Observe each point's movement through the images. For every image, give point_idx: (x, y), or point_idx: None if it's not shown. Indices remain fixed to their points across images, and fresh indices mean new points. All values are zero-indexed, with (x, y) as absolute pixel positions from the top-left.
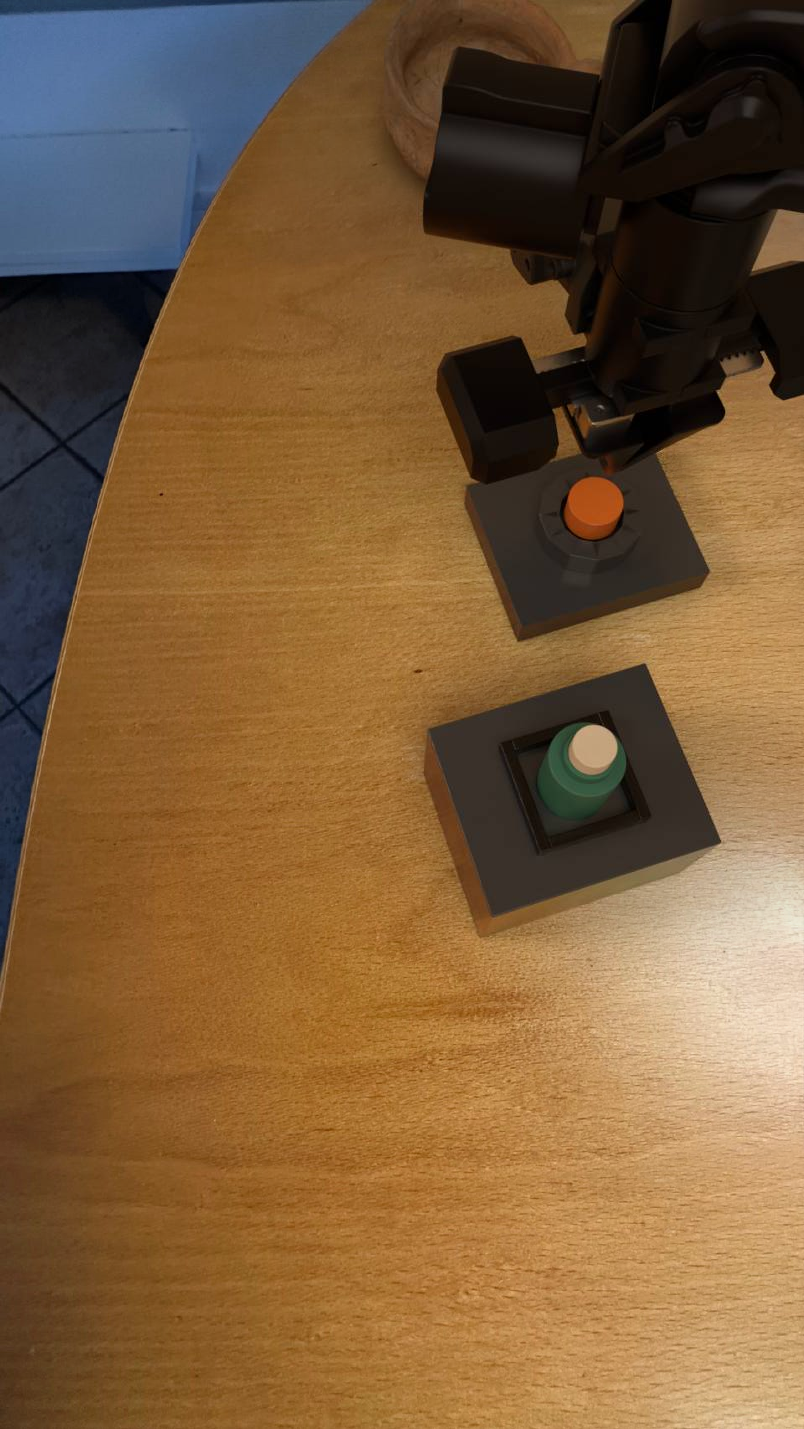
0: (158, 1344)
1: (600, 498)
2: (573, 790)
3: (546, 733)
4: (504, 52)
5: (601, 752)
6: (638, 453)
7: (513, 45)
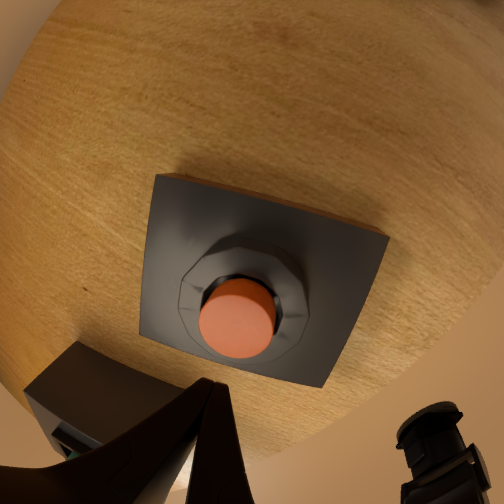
0: (11, 389)
1: (242, 329)
2: None
3: (75, 452)
4: None
5: None
6: (185, 502)
7: None
